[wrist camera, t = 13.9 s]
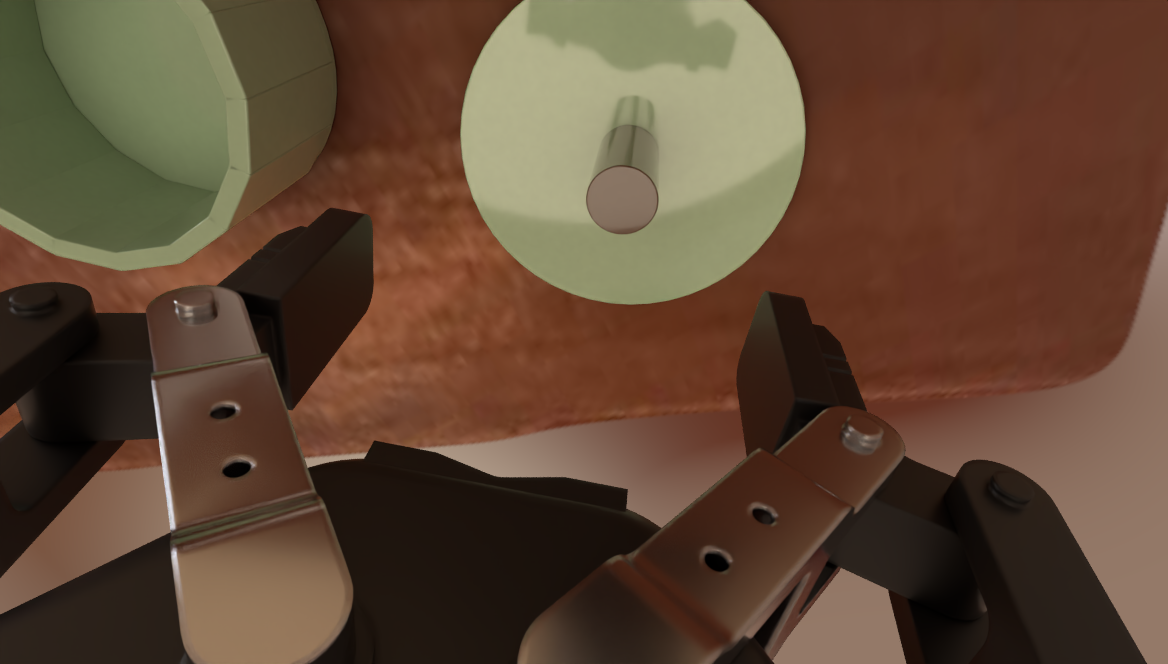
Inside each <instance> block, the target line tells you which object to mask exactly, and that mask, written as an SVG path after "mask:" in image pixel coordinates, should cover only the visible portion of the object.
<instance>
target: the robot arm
mask: <svg viewBox="0 0 1168 664" xmlns="http://www.w3.org/2000/svg"><path fill="white" fill-rule="evenodd" d="M373 284H374V280H373V228H372V221H371V218H370V216H369V215H367V214H362V213H357V212H351V211H346V210H341V209H336V208H329V209H328V210H326V211H325V212H324V213H323V214H322V215H321V216H320V217H318V218H317V219H316V220H315V221H314V222H313V223H312V224H311V225H309V226H308V227H303V226H300V227H297V228H294V229H292V230H289V231H286V232H284V233H281V234H278V235H277V236H276V237H274V238H273V239H272V240H271V241H270V242H268V243H267V244H266V245H265V246H264V247H263V250H262V249H260V250H259V251H258V252H256V253H255V254H254V255H253V256H252V257H251V260H250V259H248V260H247V261H246V262H244V263H243V264H242V265H241V266H240V267H238V268H237V269H236V270H235V271H234V272H232V273H231V274H230V275H229V276H228V277H226V278H225V279H224V280H223V281H222V282H220V283H219V284H218V285H217V286H210V285H198V286H189V287H183V288H179V289H175V290H172V291H169V292H166V293H164V294H162V295H160V296H158V297H157V298H155V299H154V300H153V301H152V302H151V303H150V304H149V305H148V307H147V309H146V313H96V311H95V308H94V304H93V301H92V297H91V295H90V293H89V292H88V291H87V290H86V289H84V288H82V287H80V286H77V285H74V284H69V283H60V282H46V283H35V284H28V285H23V286H19V287H15V288H12V289H9V290H6V291H3V292H1V293H0V415H1V414H2V413H3V412H5V411H6V410H7V409H8V408H9V407H11V406H12V405H13V404H14V403H15V402H16V405H17V407H18V410H19V413H20V415H21V418H22V420H21V421H20V422H19V423H18V424H17V425H16V426H15V427H13V428H12V429H11V430H10V431H9V432H8V433H6V434H5V435H4V436H3V437H2V438H1V439H0V578H1V577H2V575H3V574H4V573H5V572H6V571H7V570H8V569H9V568H10V567H11V566H12V565H13V563H14V562H15V561H16V560H17V559H18V558H19V557H20V556H21V555H22V553H24V551H25V550H26V549H27V548H28V547H29V546H30V545H31V544H32V542H33V541H35V539H36V538H37V537H38V536H39V535H40V534H41V533H42V532H43V531H44V530H45V528H46V527H47V526H48V525H49V524H50V523H51V522H52V521H53V520H54V519H55V518H56V516H57V515H58V514H59V513H60V512H61V511H62V510H63V509H64V508H65V507H66V506H67V505H68V503H69V502H70V501H71V500H72V499H73V498H74V497H75V496H76V495H77V494H78V492H79V491H80V490H81V489H82V488H83V487H84V486H85V485H86V484H87V483H88V482H89V480H90V479H91V478H92V477H93V476H94V475H95V474H96V473H97V472H98V471H99V470H100V468H101V467H102V466H103V465H104V464H105V463H106V462H107V461H108V460H109V459H110V458H111V456H112V455H113V454H114V453H115V452H116V451H117V450H118V449H119V448H120V447H121V446H122V444H123V443H124V442H125V440H134V439H157V438H159V444H160V451H161V459H162V467H163V475H164V482H165V490H166V498H167V505H168V513H169V521H170V528H171V532H170V533H168V534H166V535H164V536H162V537H160V538H158V539H156V540H154V541H152V542H150V543H147V544H146V545H143V546H141V547H139V548H137V549H135V550H133V551H131V552H129V553H127V554H125V555H123V556H121V557H119V558H117V559H115V560H112V561H110V562H108V563H106V564H104V565H102V566H100V567H98V568H96V569H94V570H92V571H89V572H87V573H85V574H83V575H81V576H79V577H77V578H75V579H73V580H71V581H69V582H67V583H65V584H63V585H61V586H58V587H56V588H54V589H52V590H50V591H48V592H46V593H44V594H42V595H40V596H38V597H36V598H34V599H32V600H29V601H27V602H25V603H23V604H21V605H19V606H17V607H15V608H13V609H11V610H9V611H7V612H5V613H3V614H0V664H774V663H773V661H772V660H773V659H774V657H775V656H776V654H777V653H778V651H779V649H780V648H781V646H782V645H783V643H784V642H785V640H786V639H787V637H788V636H789V635H790V633H791V632H792V631H793V629H794V628H795V627H796V625H797V624H798V623H799V622H800V620H801V619H802V618H803V617H804V615H805V614H806V613H807V611H808V610H809V609H810V608H811V606H812V605H813V604H814V603H815V601H816V600H817V599H818V597H819V596H820V595H821V594H822V592H823V591H824V590H825V589H826V587H827V586H828V585H829V583H830V582H831V581H832V580H833V578H834V577H835V576H836V574H837V573H838V572H839V570H840V568H843V569H845V570H847V571H849V572H852V573H854V574H856V575H858V576H860V577H862V578H864V579H867V580H869V581H871V582H873V583H875V584H878V585H880V586H882V587H884V588H886V589H888V591H889V596H890V600H891V604H892V608H893V612H894V616H895V620H896V624H897V628H898V632H899V635H900V640H901V644H902V648H903V652H904V656H905V659H906V663H907V664H1147V663H1146V661H1145V660H1144V658H1143V656H1142V654H1141V653H1140V651H1139V649H1138V647H1137V646H1136V644H1135V642H1134V640H1133V639H1132V637H1131V635H1130V634H1129V632H1128V630H1127V628H1126V627H1125V625H1124V623H1123V621H1122V620H1121V618H1120V616H1119V615H1118V613H1117V611H1116V609H1115V607H1114V606H1113V604H1112V602H1111V601H1110V599H1109V597H1108V595H1107V594H1106V592H1105V590H1104V588H1103V586H1102V585H1101V583H1100V582H1099V580H1098V578H1097V576H1096V574H1095V573H1094V571H1093V569H1092V567H1091V566H1090V564H1089V562H1088V561H1087V559H1086V557H1085V556H1084V553H1083V552H1082V550H1081V548H1080V546H1079V545H1078V543H1077V541H1076V540H1075V538H1074V536H1073V534H1072V533H1071V531H1070V529H1069V527H1068V526H1067V524H1066V522H1065V521H1064V519H1063V517H1062V515H1061V513H1060V512H1059V510H1058V508H1057V507H1056V505H1055V503H1054V502H1053V500H1052V499H1051V497H1050V496H1049V495H1048V494H1047V493H1046V491H1045V490H1043V489H1042V488H1041V487H1040V486H1039V485H1038V484H1036V483H1035V482H1034V481H1033V480H1031V479H1030V478H1028V477H1027V476H1025V475H1024V474H1022V473H1020V472H1018V471H1017V470H1015V469H1012V468H1010V467H1008V466H1005V465H1003V464H1000V463H996V462H993V461H988V460H972V461H968V462H967V463H965V464H963V466H962V467H961V468H960V470H959V472H958V473H957V475H956V476H955V477H952V476H950V475H948V474H945V473H943V472H940V471H938V470H935V469H933V468H930V467H927V466H925V465H923V464H920V463H918V462H916V461H913V460H911V459H909V458H908V457H906V456H904V455H905V451H906V450H905V445H904V442H903V440H902V438H901V436H900V435H899V434H898V433H897V432H896V430H895V429H894V428H892V427H891V426H890V425H889V424H888V423H886V422H885V421H884V420H882V419H880V418H879V417H877V416H875V415H873V414H871V413H868V412H867V410H866V407H865V404H864V402H863V399H862V397H861V394H860V392H859V389H858V387H857V384H856V382H855V379H854V376H853V375H851V373H852V371H851V369H850V366H849V364H848V362H846V356H845V354H844V351H843V348H842V346H841V343H840V342H839V341H838V340H837V339H836V338H835V337H834V336H833V335H832V334H831V333H830V332H829V331H828V330H827V329H826V328H825V327H824V326H820V325H814V324H812V321H811V319H810V316H809V313H808V310H807V307H806V304H805V301H804V299H803V298H801V297H795V296H790V295H785V294H779V293H774V292H769V291H765V292H764V293H763V294H762V296H761V298H760V301H759V303H758V306H757V309H756V312H755V315H754V318H753V321H752V323H751V326H750V329H749V332H748V335H747V338H746V341H745V344H744V347H743V349H742V352H741V355H740V359H739V363H738V369H737V390H738V398H739V405H740V412H741V419H742V426H743V433H744V440H745V446H746V454H747V458H746V459H744V460H743V461H742V462H740V463H739V464H738V465H737V466H736V467H735V468H733V469H732V470H731V471H730V472H729V473H727V474H726V475H725V476H724V477H723V478H721V479H720V480H719V481H718V482H717V483H715V484H714V485H713V486H712V487H711V488H709V489H708V490H707V491H706V492H705V493H703V494H702V495H701V496H700V497H699V498H697V499H696V500H695V501H694V502H693V503H691V504H690V505H689V506H688V507H687V508H685V509H684V510H683V511H682V512H681V513H679V515H677V516H676V517H675V518H673V519H672V520H671V521H670V522H669V523H667V524H666V525H665V526H664V527H663V528H660V527H659V526H657V525H656V524H654V523H653V522H651V521H650V520H648V519H646V518H645V517H643V516H641V515H638V514H637V513H635V512H633V511H630V510H628V509H626V504H627V492H628V489H623V488H618V487H613V486H608V485H603V484H597V483H592V482H586V481H582V480H577V479H571V478H566V477H538V478H537V477H531V478H530V477H527V478H526V477H523V478H522V477H518V478H516V477H513V478H512V477H511V478H509V477H496V476H493V475H490V474H487V473H485V472H482V471H480V470H478V469H475V468H473V467H470V466H468V465H465V464H463V463H461V462H458V461H456V460H453V459H451V458H448V457H446V456H444V455H441V454H439V453H436V452H431V451H426V450H420V449H415V448H410V447H405V446H400V445H394V444H389V443H384V442H379V441H374V442H373V444H372V446H371V448H370V449H369V451H368V453H367V455H366V457H365V458H364V459H351V460H350V459H349V460H340V461H334V462H329V463H324V464H320V465H316V466H313V467H309V468H307V465H306V462H305V459H304V456H303V453H302V450H301V447H300V444H299V442H298V439H297V436H296V433H295V430H294V427H293V424H292V421H291V418H290V416H289V413H288V410H293V409H294V408H295V406H296V405H297V404H298V402H299V401H300V400H301V398H302V397H303V396H304V394H305V393H306V392H307V390H308V389H309V388H310V386H311V385H312V384H313V382H314V381H315V380H316V378H317V377H318V376H319V374H320V373H321V372H322V370H323V369H324V368H325V366H326V365H327V364H328V362H329V361H330V360H331V358H332V357H333V356H334V354H335V353H336V352H337V350H338V349H339V348H340V346H341V345H342V344H343V342H344V341H345V340H346V338H347V337H348V336H349V334H350V333H351V332H352V330H353V329H354V328H355V326H356V325H357V324H358V322H359V321H360V320H361V318H362V317H363V316H364V314H365V313H366V311H367V310H368V307H369V305H370V302H371V298H372V294H373Z"/></svg>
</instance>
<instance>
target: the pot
mask: <svg viewBox="0 0 1168 664" xmlns="http://www.w3.org/2000/svg"><path fill="white" fill-rule="evenodd" d="M336 97H337V81H336V67H335V61H334V55H333V49H332V45H331V42H330V38H329V34H328V31H327V27H326V24H325V22H324V19H323V17H322V14H321V12H320V9H319V7H318V4H317V2H316V0H0V225H2V226H4V227H5V228H7V229H9V230H11V231H13V232H14V233H16V234H18V235H20V236H22V237H23V238H25V239H27V240H29V241H30V242H32V243H34V244H36V245H38V246H39V247H41V248H43V249H45V250H47V251H48V252H50V253H52V254H55V255H57V256H61V257H65V258H69V259H74V260H78V261H82V262H86V263H90V264H94V265H99V266H103V267H107V268H111V269H115V270H119V271H127V270H135V269H143V268H150V267H158V266H166V265H173V264H181V263H183V262H185V261H186V260H188V259H189V258H190V257H192V256H193V255H195V254H196V253H197V252H199V251H200V250H202V249H203V248H204V247H206V246H207V245H209V244H210V243H211V242H213V241H214V240H216V239H217V238H219V237H220V236H221V235H223V234H224V233H226V232H227V231H228V230H230V229H231V228H232V227H234V226H235V225H237V224H238V223H239V222H241V221H242V220H244V219H245V218H246V217H248V216H249V215H251V214H252V213H253V212H255V211H256V210H257V209H259V208H260V207H262V206H263V205H264V204H266V203H267V202H269V201H270V200H271V199H273V198H274V197H276V196H277V195H278V194H280V193H281V192H283V191H284V190H285V189H287V188H288V187H289V186H291V185H292V184H294V183H295V182H296V181H298V180H299V179H301V178H302V177H303V176H305V175H306V174H308V172H309V171H310V169H311V167H312V165H313V164H314V163H315V161H316V160H317V158H318V157H319V155H320V153H321V152H322V150H323V148H324V146H325V144H326V141H327V139H328V136H329V134H330V131H331V128H332V124H333V119H334V115H335V108H336Z"/></svg>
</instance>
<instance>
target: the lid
mask: <svg viewBox="0 0 1168 664" xmlns="http://www.w3.org/2000/svg"><path fill="white" fill-rule="evenodd" d="M805 137H806V124H805V110H804V103H803V98H802V94H801V89H800V84H799V81H798V78H797V76H796V73H795V70H794V67H793V65H792V62H791V59H790V58H789V56H788V54H787V52H786V50H785V48H784V47H783V45H782V43H781V41H780V39H779V38H778V36H777V35H776V34H775V32H774V31H773V30H772V28H771V27H770V26H769V24H768V23H767V22H766V20H765V19H764V18H763V17H762V16H761V15H760V14H759V13H758V12H757V11H756V10H755V9H754V8H753V7H752V6H751V5H750V4H749V3H748V2H747V1H746V0H523V1H522V2H521V3H519V4H518V5H517V6H516V7H515V8H513V10H512V11H511V12H510V13H509V14H508V15H507V16H506V17H505V18H504V20H503V21H502V22H501V23H500V24H499V25H498V26H497V28H496V29H495V31H494V32H493V33H492V35H491V36H490V38H489V39H488V41H487V42H486V44H485V45H484V47H483V49H482V51H481V53H480V55H479V57H478V59H477V61H476V63H475V65H474V67H473V70H472V73H471V76H470V79H469V82H468V85H467V88H466V92H465V97H464V102H463V107H462V113H461V130H460V138H461V152H462V160H463V165H464V170H465V175H466V179H467V182H468V185H469V188H470V191H471V194H472V197H473V199H474V201H475V203H476V205H477V208H478V210H479V212H480V214H481V216H482V218H483V219H484V221H485V222H486V224H487V226H488V227H489V229H490V230H491V232H492V233H493V235H494V236H495V237H496V238H497V240H498V241H499V242H500V243H501V244H502V246H503V247H504V248H505V249H506V250H507V251H508V252H509V253H510V254H511V255H512V256H513V257H514V258H515V259H516V260H517V261H518V262H519V263H520V264H521V265H523V266H524V267H525V268H527V269H528V270H529V271H531V272H532V273H533V274H535V275H536V276H538V277H539V278H541V279H543V280H544V281H546V282H548V283H550V284H551V285H553V286H555V287H557V288H560V289H562V290H564V291H567V292H569V293H571V294H574V295H577V296H581V297H584V298H587V299H591V300H596V301H601V302H607V303H616V304H650V303H656V302H662V301H668V300H672V299H676V298H679V297H683V296H686V295H689V294H692V293H694V292H697V291H699V290H702V289H704V288H706V287H708V286H710V285H712V284H714V283H716V282H717V281H719V280H721V279H723V278H725V277H726V276H727V275H729V274H730V273H732V272H733V271H734V270H736V269H737V268H738V267H740V266H741V265H742V264H743V263H745V262H746V261H747V260H748V259H749V258H750V257H751V256H752V255H753V254H754V253H755V252H757V251H758V249H759V248H760V247H761V246H762V245H763V243H764V242H765V241H766V240H767V239H768V238H769V236H770V235H771V234H772V232H773V231H774V229H775V228H776V226H777V225H778V223H779V222H780V220H781V219H782V217H783V215H784V213H785V211H786V209H787V207H788V205H789V203H790V201H791V199H792V197H793V194H794V191H795V189H796V186H797V183H798V180H799V177H800V173H801V168H802V163H803V158H804V152H805Z"/></svg>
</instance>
